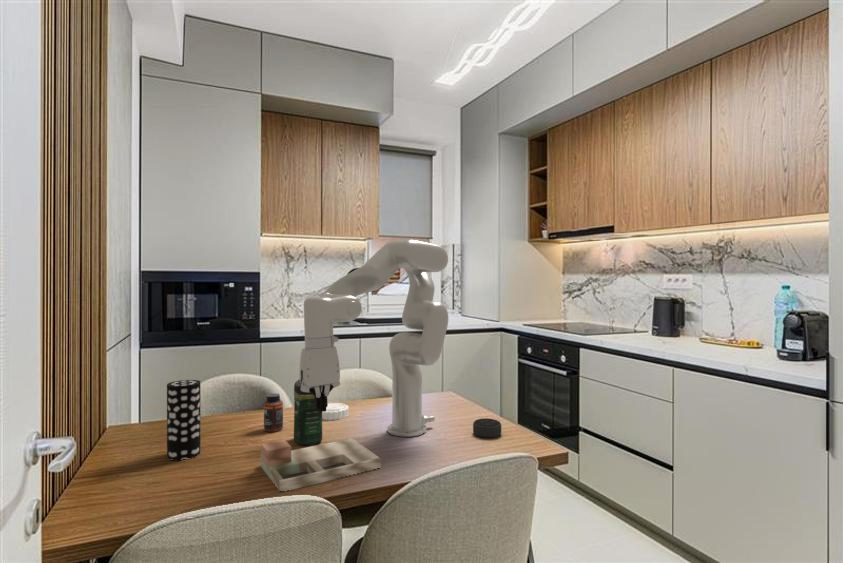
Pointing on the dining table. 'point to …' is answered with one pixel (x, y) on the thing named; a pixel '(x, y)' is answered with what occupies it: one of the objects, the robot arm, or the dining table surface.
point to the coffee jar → (306, 417)
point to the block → (275, 453)
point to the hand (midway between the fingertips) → (321, 410)
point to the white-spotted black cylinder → (183, 419)
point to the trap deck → (322, 464)
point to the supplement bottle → (273, 413)
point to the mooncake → (335, 411)
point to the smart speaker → (487, 428)
